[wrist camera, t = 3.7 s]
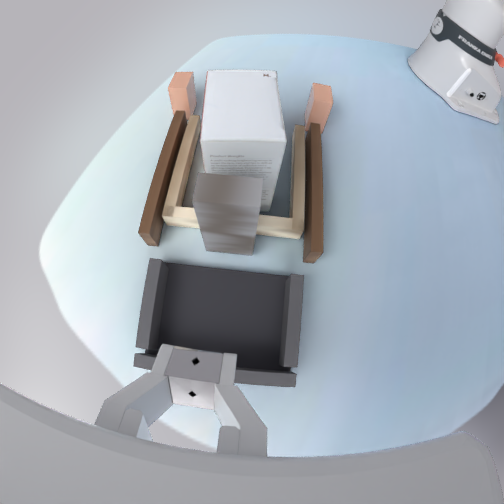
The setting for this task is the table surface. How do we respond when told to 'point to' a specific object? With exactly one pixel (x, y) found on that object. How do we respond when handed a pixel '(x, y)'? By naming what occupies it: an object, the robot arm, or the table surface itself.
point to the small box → (243, 127)
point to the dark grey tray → (224, 318)
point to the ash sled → (232, 200)
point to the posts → (186, 101)
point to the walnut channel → (165, 168)
